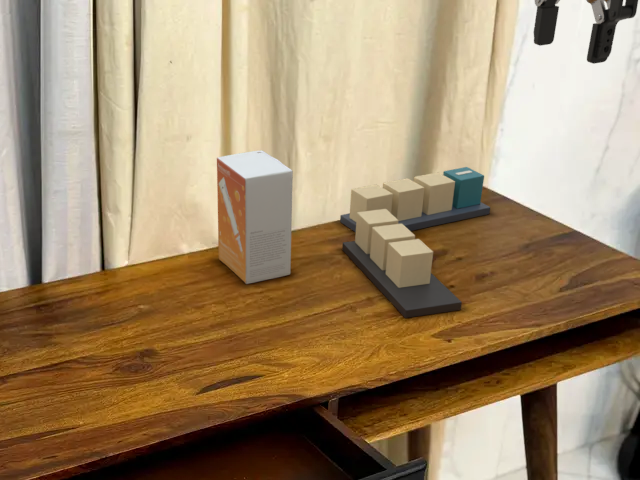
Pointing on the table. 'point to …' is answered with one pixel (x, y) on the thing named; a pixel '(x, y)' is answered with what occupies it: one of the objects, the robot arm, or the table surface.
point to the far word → (412, 202)
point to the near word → (398, 265)
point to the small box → (254, 215)
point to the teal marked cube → (466, 186)
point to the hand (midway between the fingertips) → (569, 52)
